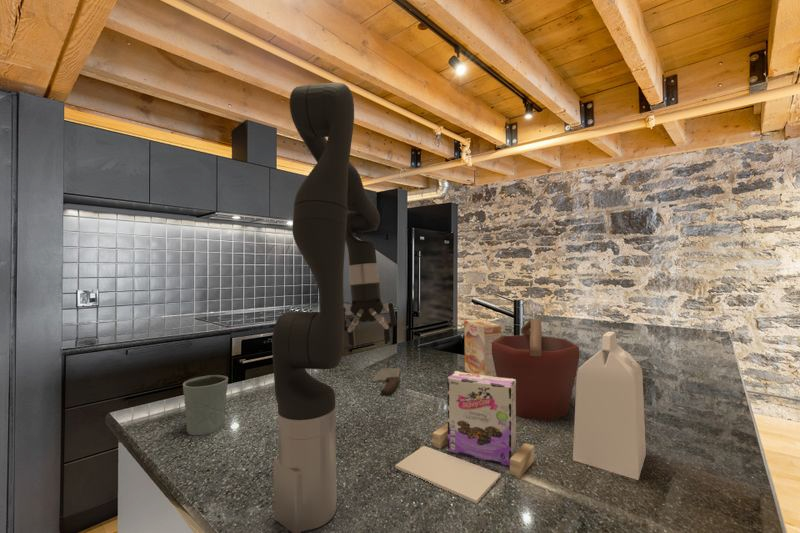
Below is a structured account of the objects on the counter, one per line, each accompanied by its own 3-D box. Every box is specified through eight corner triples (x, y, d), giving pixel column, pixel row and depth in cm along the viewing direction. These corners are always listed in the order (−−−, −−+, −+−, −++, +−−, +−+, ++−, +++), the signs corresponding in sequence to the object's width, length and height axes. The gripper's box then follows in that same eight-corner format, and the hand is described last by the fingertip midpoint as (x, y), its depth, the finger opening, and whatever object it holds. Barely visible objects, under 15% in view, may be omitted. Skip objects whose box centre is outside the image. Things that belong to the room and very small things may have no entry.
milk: (586, 438, 86) (586, 327, 86) (645, 454, 78) (645, 332, 78) (572, 460, 76) (571, 335, 76) (638, 480, 69) (637, 342, 69)
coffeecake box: (464, 370, 141) (463, 319, 141) (480, 368, 143) (480, 318, 143) (484, 382, 127) (483, 325, 127) (502, 380, 129) (501, 324, 129)
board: (476, 504, 63) (476, 500, 63) (395, 468, 74) (395, 465, 74) (500, 477, 71) (500, 474, 71) (423, 448, 82) (423, 445, 82)
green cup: (177, 439, 88) (177, 388, 87) (190, 421, 97) (189, 376, 97) (224, 433, 90) (223, 384, 90) (231, 416, 100) (231, 372, 100)
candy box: (446, 452, 80) (445, 376, 80) (455, 440, 85) (454, 369, 85) (511, 467, 74) (510, 386, 74) (517, 454, 79) (516, 377, 79)
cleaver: (398, 396, 115) (398, 389, 115) (367, 396, 115) (366, 389, 115) (400, 370, 144) (400, 365, 144) (375, 370, 144) (375, 365, 144)
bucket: (508, 388, 120) (507, 312, 120) (583, 401, 109) (583, 316, 108) (484, 415, 99) (483, 323, 99) (574, 434, 88) (574, 329, 87)
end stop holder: (520, 477, 70) (519, 462, 70) (432, 446, 83) (432, 432, 83) (534, 460, 76) (534, 445, 76) (451, 433, 89) (451, 420, 89)
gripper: (334, 285, 91) (339, 350, 91) (391, 279, 91) (397, 345, 90) (340, 284, 99) (345, 344, 99) (393, 279, 98) (398, 340, 98)
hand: (370, 345), depth 94 cm, fingers open, 8 cm apart
